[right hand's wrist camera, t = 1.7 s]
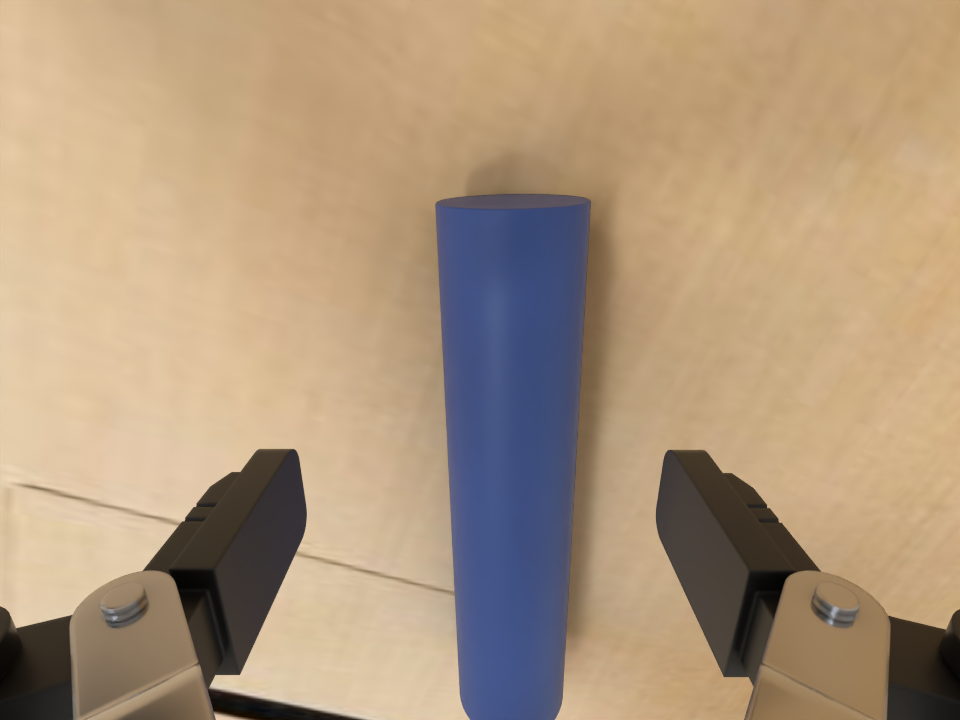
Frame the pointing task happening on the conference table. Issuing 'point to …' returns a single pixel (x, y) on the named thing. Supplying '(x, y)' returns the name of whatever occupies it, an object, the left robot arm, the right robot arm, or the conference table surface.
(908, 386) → the conference table surface
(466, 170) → the conference table surface
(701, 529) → the right robot arm
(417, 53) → the conference table surface
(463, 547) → the rod
